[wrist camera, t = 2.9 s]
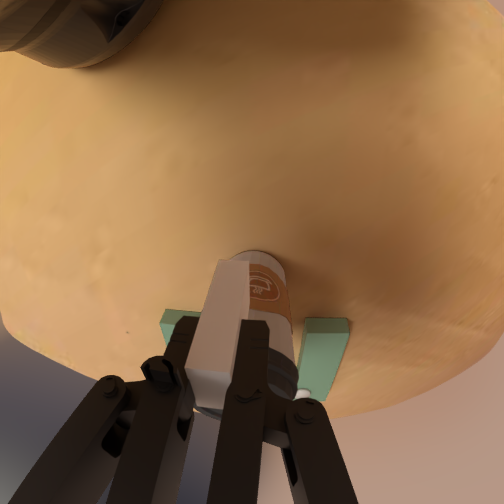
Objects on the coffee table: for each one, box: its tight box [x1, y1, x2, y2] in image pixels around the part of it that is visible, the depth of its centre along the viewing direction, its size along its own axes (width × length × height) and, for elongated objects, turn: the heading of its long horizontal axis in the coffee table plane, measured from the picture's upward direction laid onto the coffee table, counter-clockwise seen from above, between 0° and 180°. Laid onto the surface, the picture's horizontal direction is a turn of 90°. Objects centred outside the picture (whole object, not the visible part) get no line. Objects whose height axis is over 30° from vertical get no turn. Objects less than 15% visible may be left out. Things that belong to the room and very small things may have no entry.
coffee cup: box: [193, 251, 299, 421], centre depth 24 cm, size 8×8×15 cm
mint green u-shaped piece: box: [160, 309, 350, 401], centre depth 36 cm, size 16×22×3 cm
